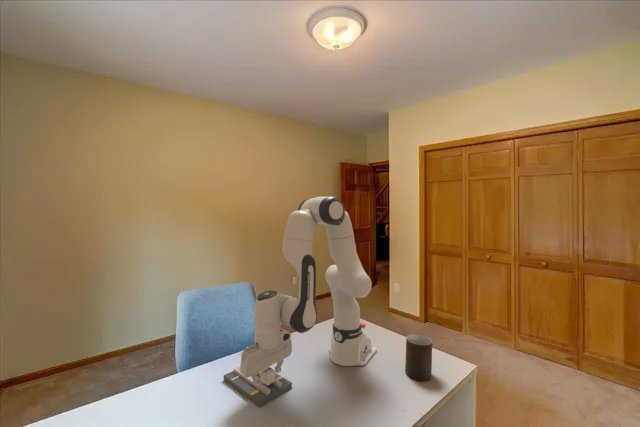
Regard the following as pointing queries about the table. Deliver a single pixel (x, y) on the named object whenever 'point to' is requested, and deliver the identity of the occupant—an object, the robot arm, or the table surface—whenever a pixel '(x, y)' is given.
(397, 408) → the table surface
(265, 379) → the fader knob
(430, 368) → the pillar candle
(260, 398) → the slider console
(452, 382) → the table surface
